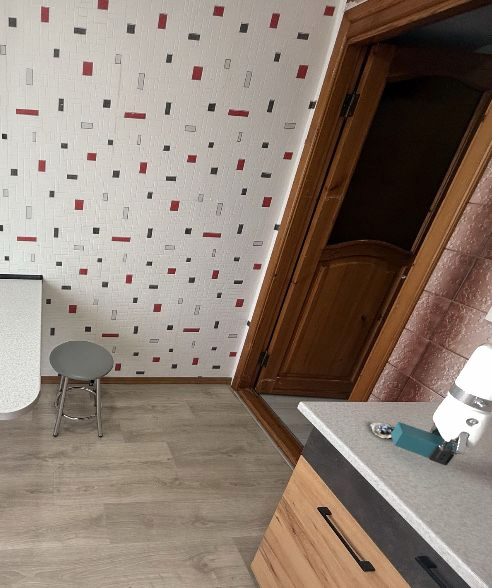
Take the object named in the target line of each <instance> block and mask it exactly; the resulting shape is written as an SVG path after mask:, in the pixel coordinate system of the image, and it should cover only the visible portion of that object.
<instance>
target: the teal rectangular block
mask: <svg viewBox="0 0 492 588" xmlns="http://www.w3.org/2000/svg"><path fill="white" fill-rule="evenodd" d="M394 427H395V428H394V430H393V431H392V433H391V437H390V438H391V440H392V442H393V446H395V447H398V448H401V449H403V450H406V451H408V452H411V453H414V454H416V455H419V456H422V457H424V458H427V459H429V456H430V454H431V453H432V451H433V450H434V449H435V447H436V446H437V447H439V445H440V443H441V441H442V439H443V437H441V436H438V435H435V434H432V432H430V431H427V430H424V429H421V428H417V427H415V426H412V425H409V424H406V423H403V422H400V421H398V422H397V423H396V424H395V426H394ZM429 432H430V433H429ZM446 446H454V444H452V443H449V442H447V444H446ZM454 457H455V455H454V456H453V458H454ZM451 461H452V459H451V460H450V462H451ZM448 465H449V463H448V464H447V465H446V466H448Z"/></svg>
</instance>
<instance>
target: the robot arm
mask: <svg viewBox="0 0 492 588" xmlns="http://www.w3.org/2000/svg"><path fill="white" fill-rule="evenodd" d="M432 420H433V425H432V426H431V427H430V429H429V431H428V432H429V433H432V434H435V435H438V436H441V437H443V439H442V441H441V443H440V445H439V447H437V446H436V447H435V449H434V450H433V451H432V453H431V454H430V456H429V458H428V459H429V460H430V461H432V462H435V463H438V464H440V465H443V466H448V465H449V463H450V462H451V461H452V460H453V458H454V457H455V456H457V455H461V456H463V455H465V451H466V449H468V450H470V451H472V450H474V449H475V448H476V446H477V445H478V443H479V442H480V440H481V438H482V437H483V436H484V434H485V433H486V430H487V429H488V427H489V424H490V422H491V420H492V345H491V344H485V345H480V346H479V347H477V348H475V350H474V351H473V353H472V355H471V356H470V358H469V359H468V361H467V362H466V364H465V365H464V367H463V368H462V370H461V372H460V373H459V374H458V376H457V377H456V380H455V381H454V382H453V384H452V385H451V387H450V388H449V390H448V391H447V396H446V397H445V398H444V399H443V400H442V402H441V403H440V404H439V406H438V407H437V408H436V410H435V412H434V414H433V416H432ZM447 442H449V443H452V444H453V446H446V444H447ZM453 456H454V457H453ZM450 460H451V461H450ZM447 464H448V465H447Z"/></svg>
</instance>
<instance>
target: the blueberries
mask: <svg viewBox="0 0 492 588" xmlns="http://www.w3.org/2000/svg"><path fill="white" fill-rule="evenodd" d="M370 428H371V429H372V431H371V432H373V434H374V435H375V436H378V437H379V438H382V439H385V438H386V439H389V438H392V437H391V433H392V431H393V430H394V428H395V426H392V425H391V424H390V423H388V422H380V421H379V422H373V423H370Z"/></svg>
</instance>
